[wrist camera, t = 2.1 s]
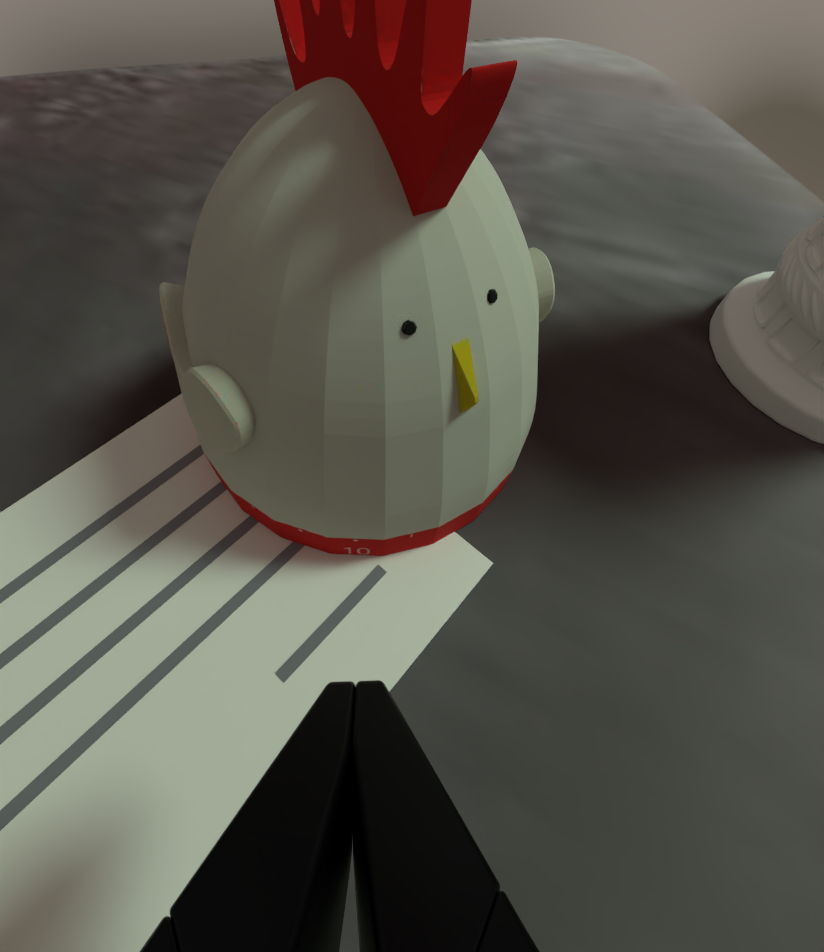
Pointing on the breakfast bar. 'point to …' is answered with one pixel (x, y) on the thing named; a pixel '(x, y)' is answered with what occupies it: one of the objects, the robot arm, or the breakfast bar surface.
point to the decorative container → (779, 336)
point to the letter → (167, 674)
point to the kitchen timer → (364, 289)
